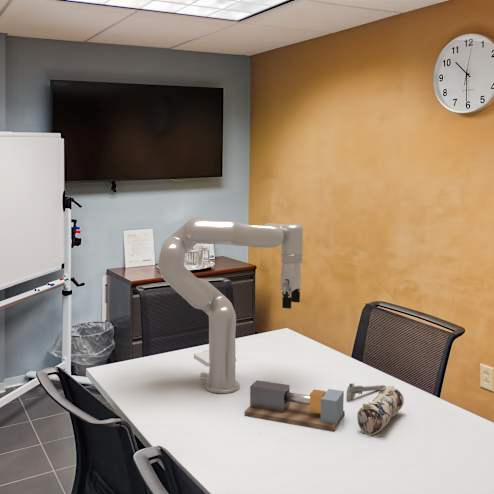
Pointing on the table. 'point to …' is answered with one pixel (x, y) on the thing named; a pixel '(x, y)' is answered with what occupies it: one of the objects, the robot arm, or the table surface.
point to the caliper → (360, 390)
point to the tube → (307, 399)
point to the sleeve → (269, 396)
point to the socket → (332, 406)
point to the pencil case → (380, 410)
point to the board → (294, 416)
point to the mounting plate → (204, 357)
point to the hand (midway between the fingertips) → (291, 305)
